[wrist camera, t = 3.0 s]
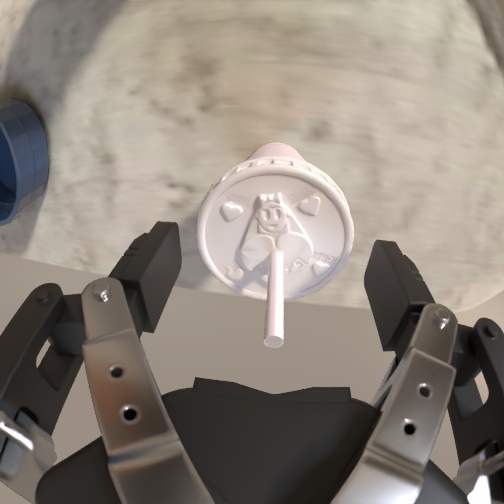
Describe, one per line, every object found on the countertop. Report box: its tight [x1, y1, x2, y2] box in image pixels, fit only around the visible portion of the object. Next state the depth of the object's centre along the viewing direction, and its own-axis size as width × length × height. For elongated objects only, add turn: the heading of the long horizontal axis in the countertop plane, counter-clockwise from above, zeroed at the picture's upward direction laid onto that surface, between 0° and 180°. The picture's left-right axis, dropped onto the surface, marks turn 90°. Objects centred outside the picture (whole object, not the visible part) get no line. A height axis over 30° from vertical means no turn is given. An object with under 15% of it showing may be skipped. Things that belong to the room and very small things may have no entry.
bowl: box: [0, 99, 49, 226], centre depth 17 cm, size 11×11×4 cm
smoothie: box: [196, 142, 354, 347], centre depth 13 cm, size 6×6×14 cm
